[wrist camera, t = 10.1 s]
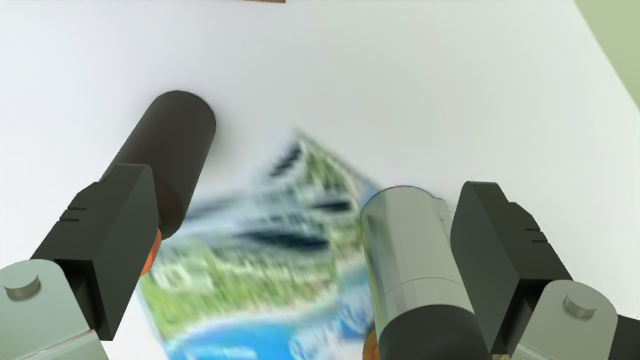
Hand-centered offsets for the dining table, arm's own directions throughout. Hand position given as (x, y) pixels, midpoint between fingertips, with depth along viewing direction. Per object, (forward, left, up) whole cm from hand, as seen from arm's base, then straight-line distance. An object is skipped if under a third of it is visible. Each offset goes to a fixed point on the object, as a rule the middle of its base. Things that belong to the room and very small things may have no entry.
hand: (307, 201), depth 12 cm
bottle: (+12, +15, -34) cm, 39 cm away
